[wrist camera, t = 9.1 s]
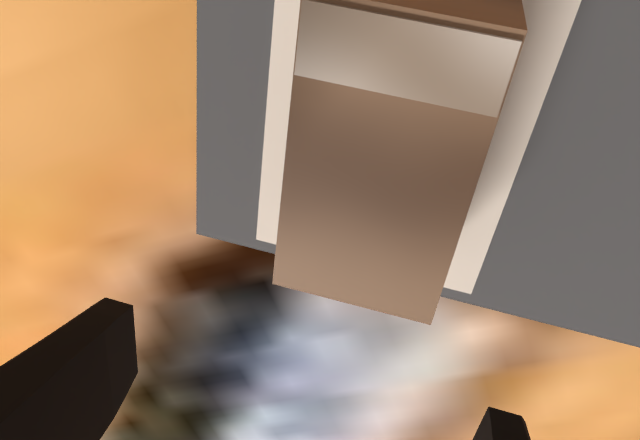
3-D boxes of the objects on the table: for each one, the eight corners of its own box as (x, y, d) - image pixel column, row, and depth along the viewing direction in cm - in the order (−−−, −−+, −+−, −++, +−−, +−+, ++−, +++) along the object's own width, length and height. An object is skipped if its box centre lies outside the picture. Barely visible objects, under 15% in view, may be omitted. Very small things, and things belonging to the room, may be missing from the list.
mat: (918, -48, 12) (932, -43, 12) (656, 343, 19) (659, 354, 19) (203, -165, 14) (195, -166, 14) (201, 227, 21) (195, 235, 21)
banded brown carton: (439, 249, 19) (430, 327, 16) (304, 216, 19) (271, 285, 16) (519, -10, 14) (527, 32, 11) (338, -44, 14) (300, -12, 12)
